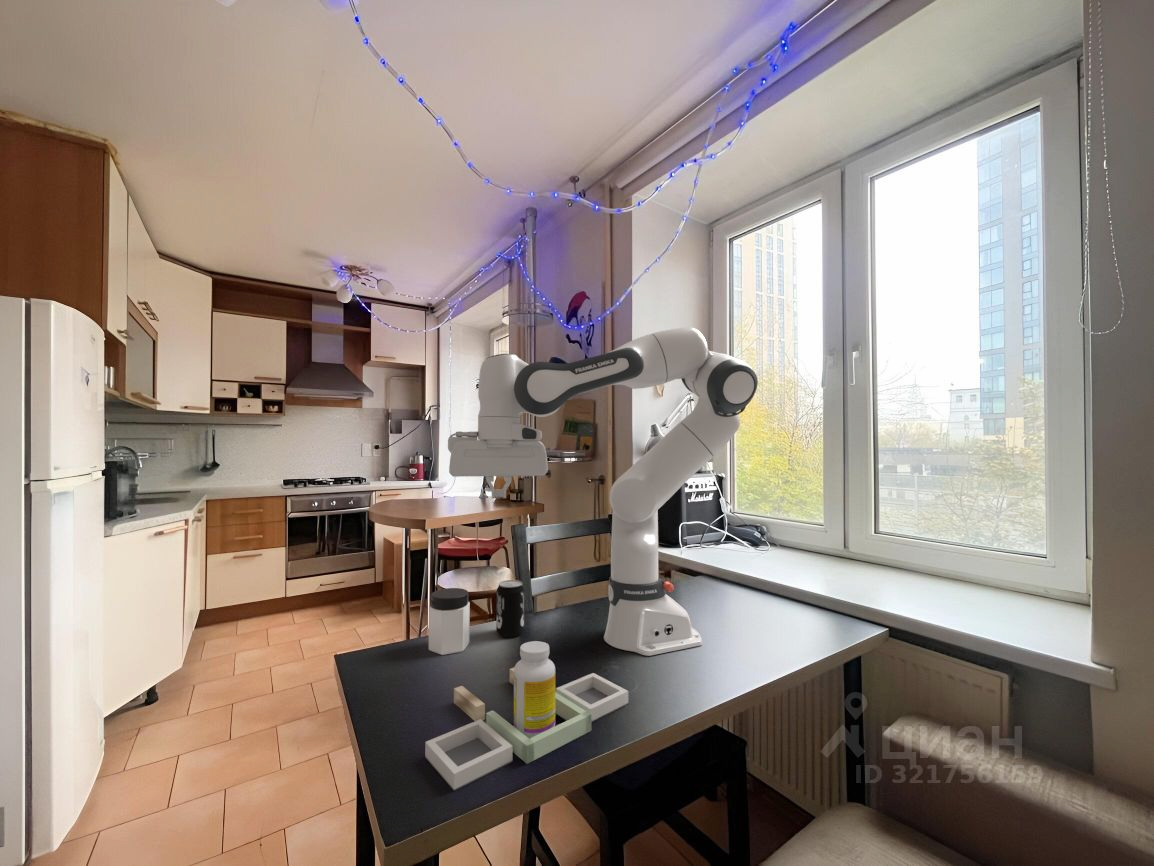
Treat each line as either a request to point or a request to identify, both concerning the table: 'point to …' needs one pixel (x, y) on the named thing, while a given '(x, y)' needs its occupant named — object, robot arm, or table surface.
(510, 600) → the beverage can
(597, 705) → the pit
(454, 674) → the table surface
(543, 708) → the supplement bottle
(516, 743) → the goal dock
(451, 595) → the jar
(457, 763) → the tray
